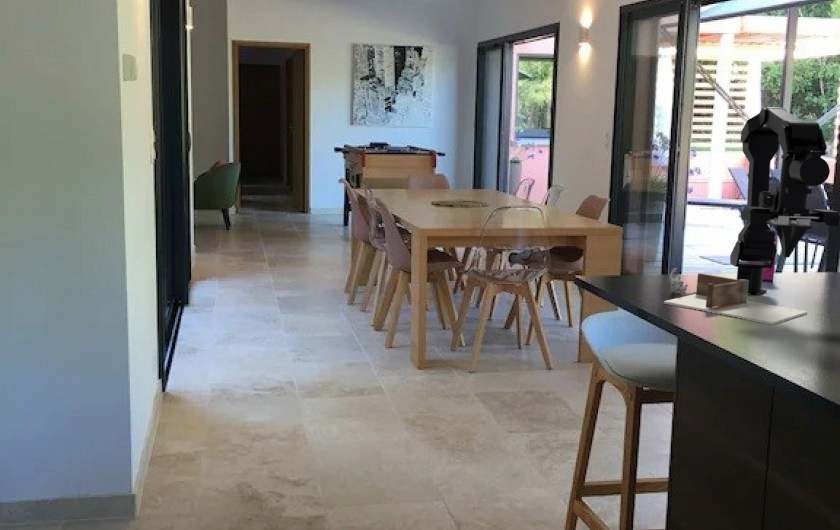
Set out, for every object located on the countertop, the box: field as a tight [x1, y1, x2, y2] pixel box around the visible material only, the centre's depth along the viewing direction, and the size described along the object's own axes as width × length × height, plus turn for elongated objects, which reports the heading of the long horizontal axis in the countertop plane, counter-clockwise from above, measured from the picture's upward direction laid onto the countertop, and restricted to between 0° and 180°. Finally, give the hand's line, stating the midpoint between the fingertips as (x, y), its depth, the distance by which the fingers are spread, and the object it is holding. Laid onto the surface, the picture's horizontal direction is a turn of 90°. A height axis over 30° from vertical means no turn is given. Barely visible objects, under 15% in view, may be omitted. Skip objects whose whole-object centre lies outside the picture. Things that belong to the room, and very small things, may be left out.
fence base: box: [695, 272, 749, 303], centre depth 196 cm, size 2×12×5 cm, turn 45°
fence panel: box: [706, 281, 743, 308], centre depth 187 cm, size 12×1×5 cm, turn 129°
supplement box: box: [746, 237, 778, 283], centre depth 224 cm, size 6×6×12 cm
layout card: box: [663, 294, 808, 326], centre depth 188 cm, size 17×24×1 cm
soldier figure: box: [668, 267, 696, 297], centre depth 202 cm, size 8×5×12 cm
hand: (786, 257), depth 184 cm, fingers closed
